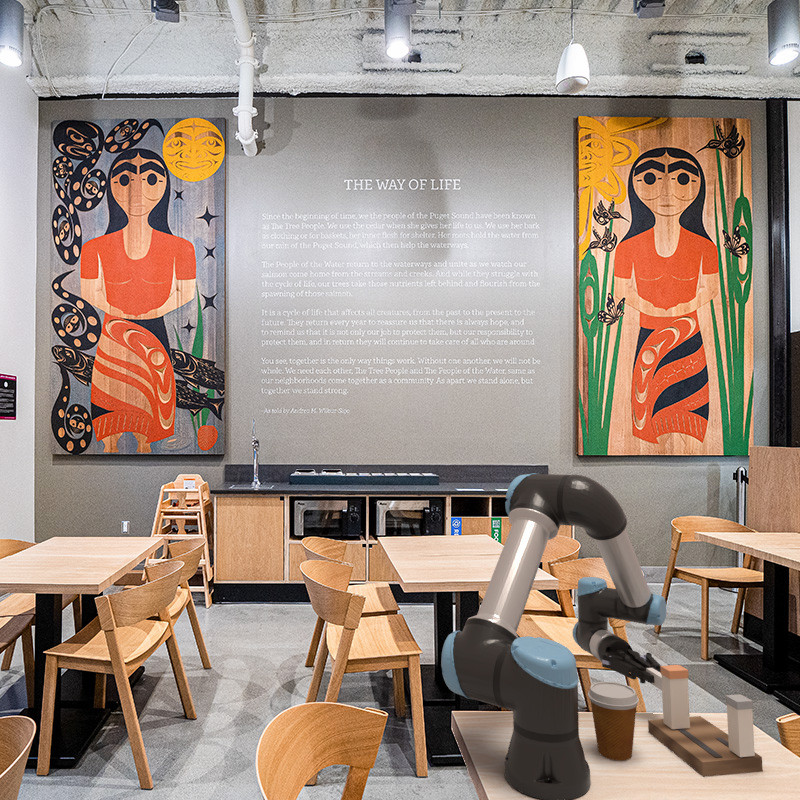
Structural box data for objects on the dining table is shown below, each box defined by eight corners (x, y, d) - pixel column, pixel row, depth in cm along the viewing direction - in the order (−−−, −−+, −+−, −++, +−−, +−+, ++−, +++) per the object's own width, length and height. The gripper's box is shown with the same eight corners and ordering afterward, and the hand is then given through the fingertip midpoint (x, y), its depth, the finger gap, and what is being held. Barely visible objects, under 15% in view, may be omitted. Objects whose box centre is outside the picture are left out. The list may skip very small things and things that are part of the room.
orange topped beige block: (662, 722, 127) (660, 665, 128) (681, 721, 128) (678, 664, 129) (671, 729, 124) (669, 671, 125) (690, 728, 124) (688, 670, 125)
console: (648, 732, 129) (647, 715, 129) (700, 728, 131) (699, 711, 131) (703, 776, 111) (702, 756, 111) (762, 771, 113) (761, 751, 113)
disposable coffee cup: (645, 767, 114) (642, 700, 115) (592, 762, 116) (590, 697, 117) (636, 744, 124) (634, 682, 125) (587, 739, 126) (585, 679, 127)
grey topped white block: (728, 749, 116) (725, 695, 116) (743, 747, 116) (740, 694, 117) (740, 757, 112) (737, 702, 113) (755, 756, 113) (752, 700, 114)
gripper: (636, 664, 154) (695, 701, 131) (587, 667, 152) (638, 705, 129) (634, 633, 155) (693, 664, 132) (586, 636, 153) (637, 668, 130)
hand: (666, 684), depth 130 cm, fingers closed
